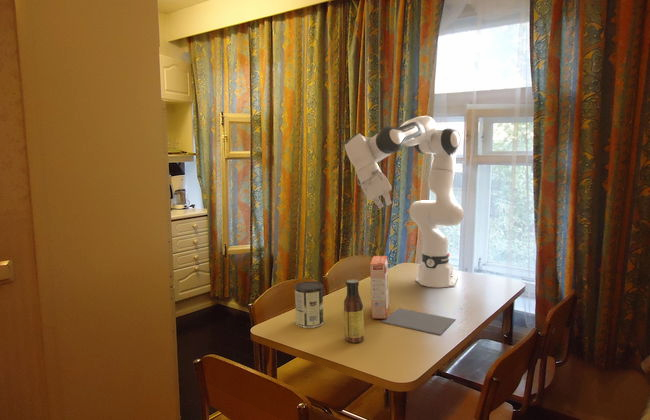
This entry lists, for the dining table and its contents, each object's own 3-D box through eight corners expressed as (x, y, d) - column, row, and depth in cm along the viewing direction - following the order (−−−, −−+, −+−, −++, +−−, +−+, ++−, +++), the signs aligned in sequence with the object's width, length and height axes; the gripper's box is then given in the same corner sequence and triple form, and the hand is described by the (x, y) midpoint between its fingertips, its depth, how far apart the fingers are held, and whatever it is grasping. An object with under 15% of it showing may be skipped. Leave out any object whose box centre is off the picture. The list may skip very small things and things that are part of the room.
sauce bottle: (367, 339, 142) (367, 280, 140) (356, 345, 138) (355, 285, 135) (352, 334, 147) (351, 277, 144) (340, 340, 142) (339, 281, 139)
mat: (399, 309, 170) (399, 308, 169) (455, 320, 157) (455, 319, 157) (381, 322, 156) (381, 321, 156) (440, 335, 144) (440, 334, 144)
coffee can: (310, 315, 164) (309, 279, 162) (329, 322, 157) (328, 285, 155) (289, 323, 157) (288, 285, 155) (308, 330, 150) (307, 291, 148)
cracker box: (388, 319, 158) (385, 263, 156) (371, 319, 159) (368, 263, 157) (390, 306, 171) (387, 255, 169) (374, 306, 173) (372, 255, 170)
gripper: (385, 164, 157) (402, 198, 157) (369, 176, 177) (384, 206, 177) (370, 171, 156) (387, 206, 155) (355, 182, 176) (370, 212, 175)
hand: (385, 206), depth 166 cm, fingers open, 8 cm apart
